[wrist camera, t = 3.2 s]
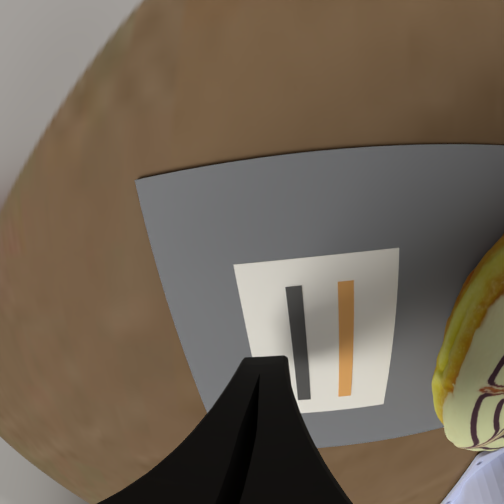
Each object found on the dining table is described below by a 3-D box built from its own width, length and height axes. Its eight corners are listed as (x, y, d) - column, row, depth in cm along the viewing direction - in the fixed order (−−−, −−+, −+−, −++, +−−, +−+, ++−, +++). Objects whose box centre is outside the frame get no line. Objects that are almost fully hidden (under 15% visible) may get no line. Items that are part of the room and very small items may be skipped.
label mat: (559, 382, 11) (560, 384, 11) (222, 447, 14) (222, 449, 14) (617, 157, 6) (618, 158, 6) (136, 179, 9) (134, 180, 9)
